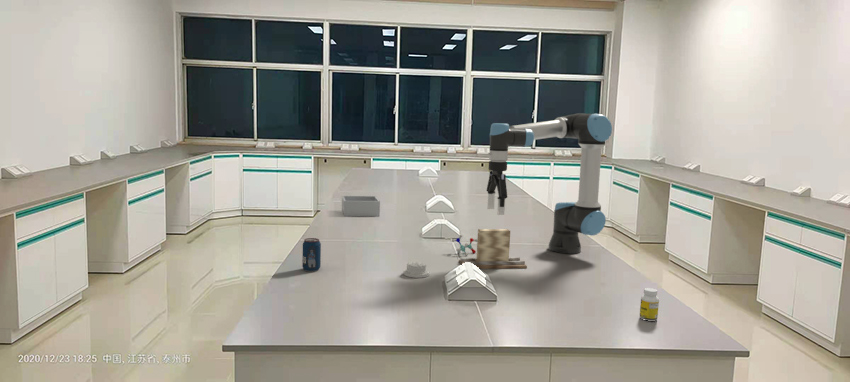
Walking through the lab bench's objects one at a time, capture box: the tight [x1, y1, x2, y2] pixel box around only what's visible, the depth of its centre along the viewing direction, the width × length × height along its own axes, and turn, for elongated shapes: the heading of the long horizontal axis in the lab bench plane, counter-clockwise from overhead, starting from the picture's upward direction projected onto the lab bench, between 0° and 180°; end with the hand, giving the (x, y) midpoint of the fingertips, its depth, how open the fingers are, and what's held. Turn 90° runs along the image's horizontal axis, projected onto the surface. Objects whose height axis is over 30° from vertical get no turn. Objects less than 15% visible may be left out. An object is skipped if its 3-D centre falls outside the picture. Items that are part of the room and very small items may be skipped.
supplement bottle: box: [639, 287, 660, 322], centre depth 196 cm, size 5×5×10 cm
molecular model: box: [451, 234, 478, 257], centre depth 277 cm, size 12×10×10 cm
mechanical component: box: [403, 261, 430, 279], centre depth 239 cm, size 10×4×10 cm
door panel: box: [476, 228, 511, 262], centre depth 257 cm, size 13×4×14 cm, turn 101°
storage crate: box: [341, 195, 381, 217], centre depth 371 cm, size 21×21×9 cm
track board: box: [458, 257, 528, 270], centre depth 258 cm, size 26×12×2 cm, turn 101°
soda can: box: [301, 237, 322, 273], centre depth 239 cm, size 7×7×12 cm
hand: (495, 211), depth 256 cm, fingers open, 13 cm apart
